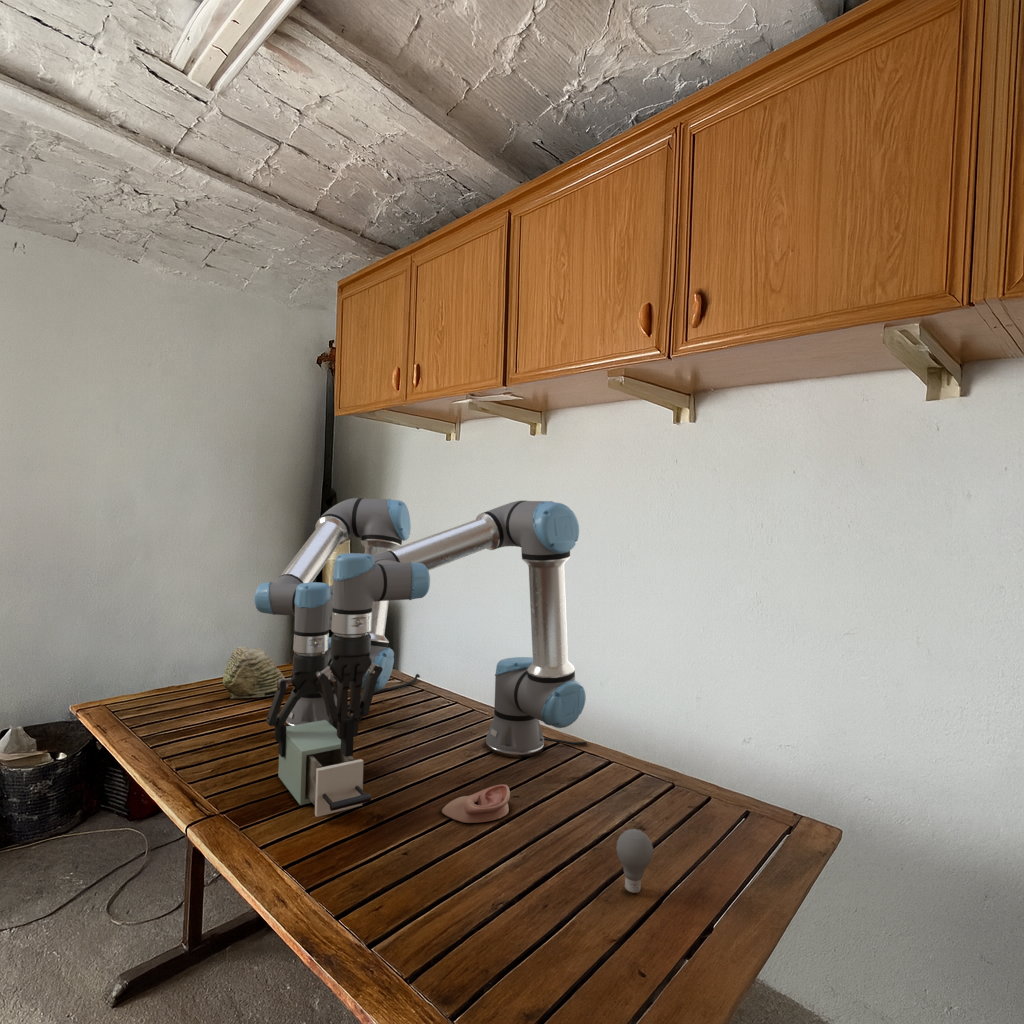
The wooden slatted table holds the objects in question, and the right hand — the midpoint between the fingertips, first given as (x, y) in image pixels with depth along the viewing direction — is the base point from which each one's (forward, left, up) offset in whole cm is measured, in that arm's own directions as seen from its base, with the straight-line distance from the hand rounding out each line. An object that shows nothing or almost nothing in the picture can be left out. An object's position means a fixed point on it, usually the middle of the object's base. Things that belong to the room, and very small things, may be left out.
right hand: (346, 753), depth 123 cm
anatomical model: (-26, +7, -14) cm, 30 cm away
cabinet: (+2, -19, -14) cm, 23 cm away
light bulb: (-36, +43, -14) cm, 58 cm away
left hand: (+2, -23, -7) cm, 25 cm away
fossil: (+3, -88, -14) cm, 90 cm away
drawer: (+1, -7, -12) cm, 14 cm away
